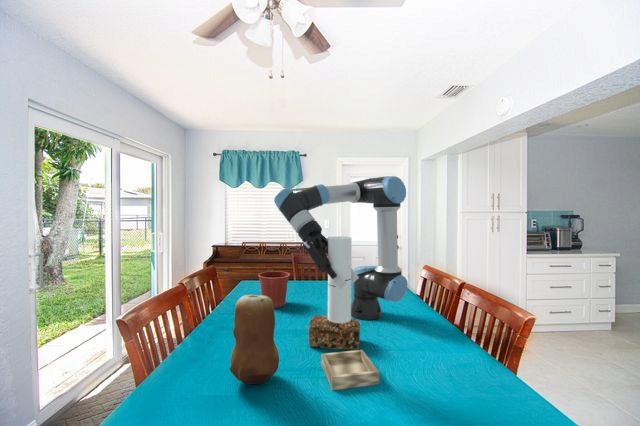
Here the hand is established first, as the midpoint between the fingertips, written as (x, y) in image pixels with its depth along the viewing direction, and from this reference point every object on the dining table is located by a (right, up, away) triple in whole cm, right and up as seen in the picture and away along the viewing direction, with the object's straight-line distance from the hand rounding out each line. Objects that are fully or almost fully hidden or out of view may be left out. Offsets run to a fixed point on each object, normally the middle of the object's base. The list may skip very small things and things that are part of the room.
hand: (349, 283), depth 90 cm
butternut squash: (-28, -28, -2) cm, 40 cm away
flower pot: (-33, -27, +67) cm, 80 cm away
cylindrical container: (-3, -12, +2) cm, 12 cm away
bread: (-3, -28, +23) cm, 36 cm away
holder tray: (0, -28, +2) cm, 28 cm away
